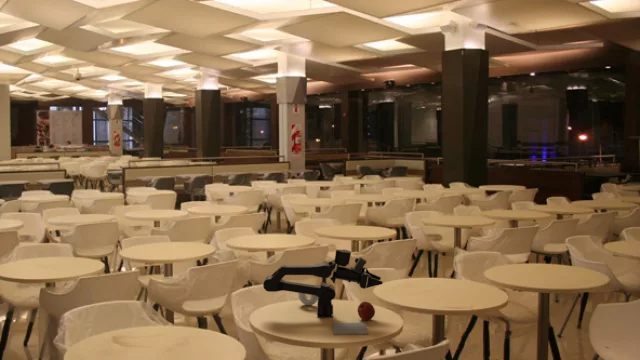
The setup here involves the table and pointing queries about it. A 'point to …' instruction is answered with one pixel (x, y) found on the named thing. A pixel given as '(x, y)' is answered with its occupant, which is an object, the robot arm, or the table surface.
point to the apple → (366, 311)
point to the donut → (307, 299)
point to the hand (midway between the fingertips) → (381, 280)
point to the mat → (350, 328)
